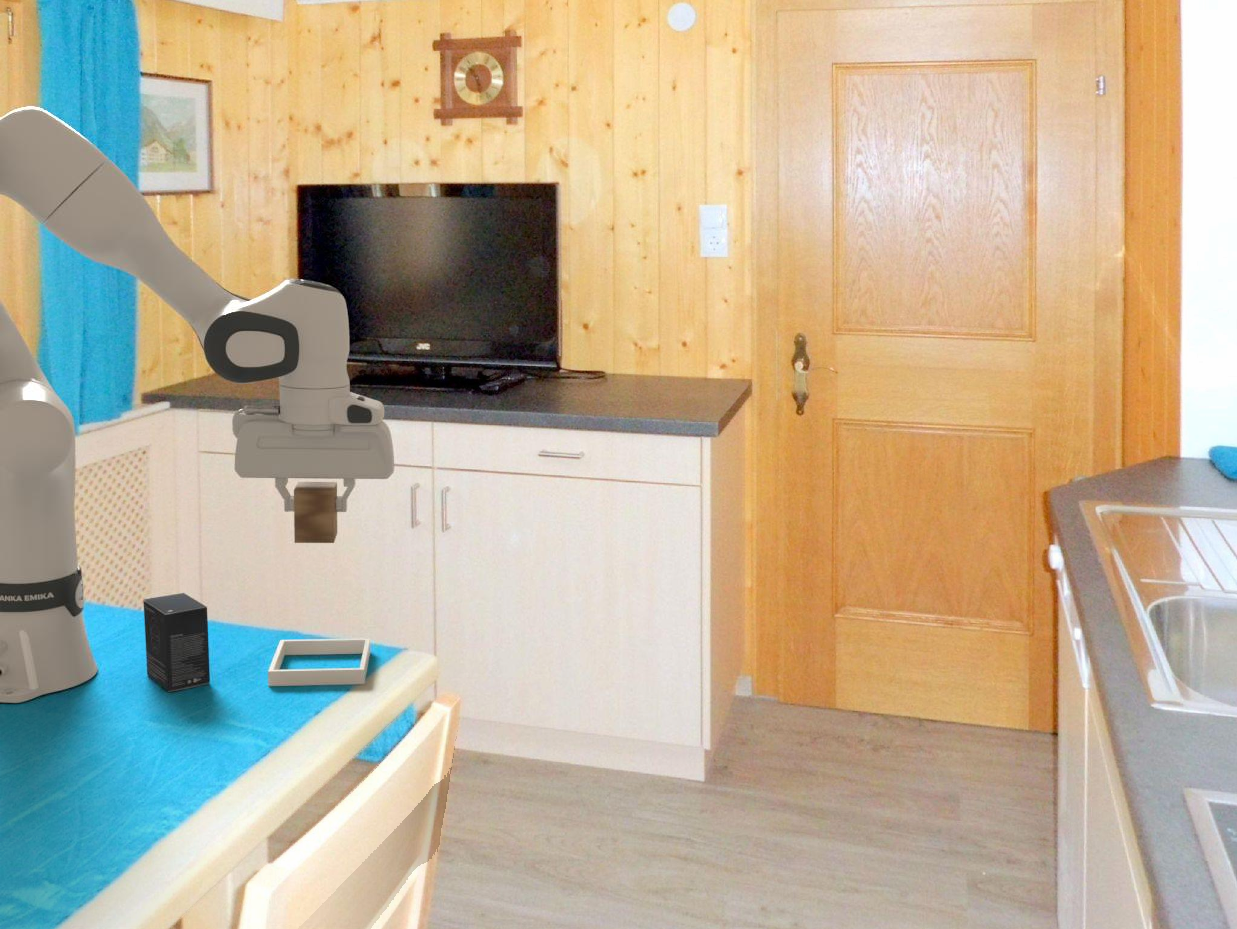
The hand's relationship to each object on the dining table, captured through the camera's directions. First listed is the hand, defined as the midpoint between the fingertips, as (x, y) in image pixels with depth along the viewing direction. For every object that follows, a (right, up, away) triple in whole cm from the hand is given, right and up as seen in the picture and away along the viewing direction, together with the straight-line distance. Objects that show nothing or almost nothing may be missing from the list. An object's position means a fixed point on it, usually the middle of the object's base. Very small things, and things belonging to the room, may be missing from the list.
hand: (316, 510), depth 175 cm
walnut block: (0, -4, +1) cm, 4 cm away
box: (-18, -22, 0) cm, 28 cm away
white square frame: (0, -21, +5) cm, 22 cm away
